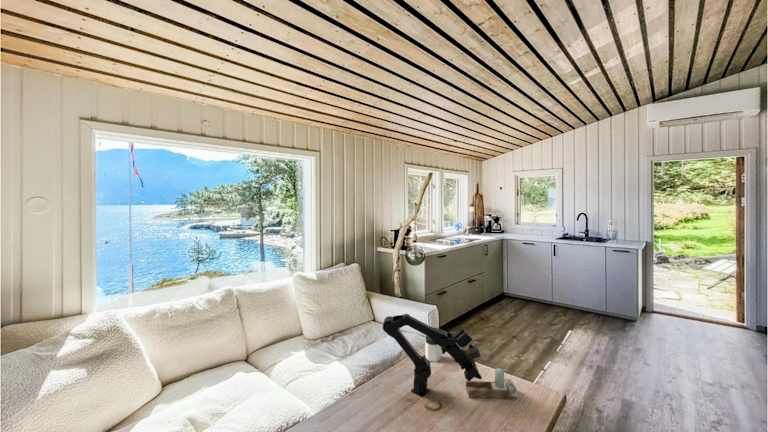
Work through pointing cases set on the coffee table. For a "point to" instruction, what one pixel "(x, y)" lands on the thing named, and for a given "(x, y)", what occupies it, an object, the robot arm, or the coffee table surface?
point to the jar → (432, 350)
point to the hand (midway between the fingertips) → (481, 378)
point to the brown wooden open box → (490, 390)
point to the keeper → (499, 380)
